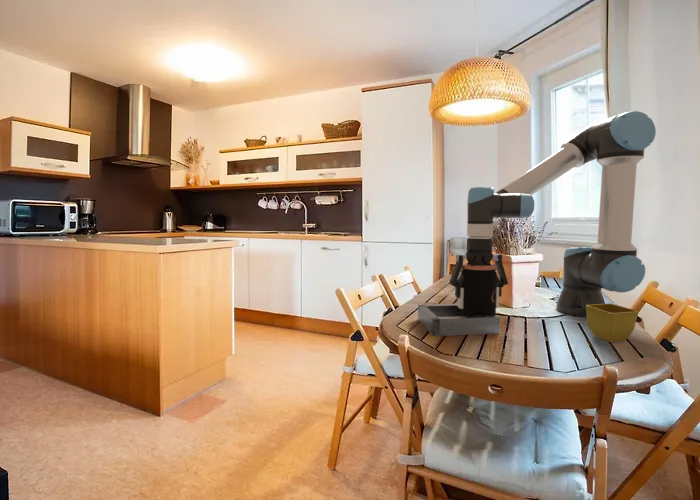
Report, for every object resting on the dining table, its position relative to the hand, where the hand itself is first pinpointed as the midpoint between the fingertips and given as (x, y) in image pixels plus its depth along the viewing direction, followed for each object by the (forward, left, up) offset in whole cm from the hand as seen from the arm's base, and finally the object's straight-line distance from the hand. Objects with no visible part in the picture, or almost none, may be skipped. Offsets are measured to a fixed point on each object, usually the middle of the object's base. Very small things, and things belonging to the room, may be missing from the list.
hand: (477, 307), depth 116 cm
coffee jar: (0, 0, -5) cm, 5 cm away
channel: (+7, 0, -6) cm, 9 cm away
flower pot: (-31, +16, -6) cm, 35 cm away
